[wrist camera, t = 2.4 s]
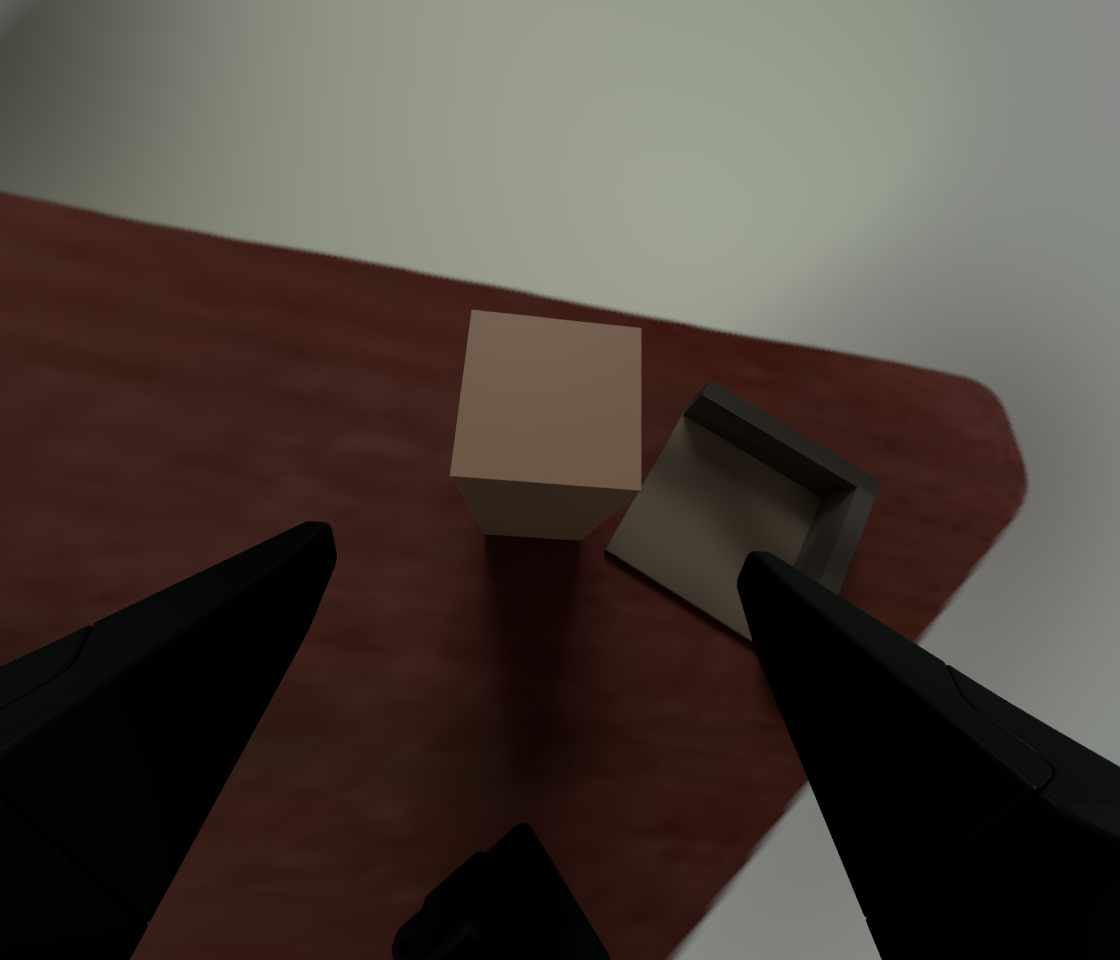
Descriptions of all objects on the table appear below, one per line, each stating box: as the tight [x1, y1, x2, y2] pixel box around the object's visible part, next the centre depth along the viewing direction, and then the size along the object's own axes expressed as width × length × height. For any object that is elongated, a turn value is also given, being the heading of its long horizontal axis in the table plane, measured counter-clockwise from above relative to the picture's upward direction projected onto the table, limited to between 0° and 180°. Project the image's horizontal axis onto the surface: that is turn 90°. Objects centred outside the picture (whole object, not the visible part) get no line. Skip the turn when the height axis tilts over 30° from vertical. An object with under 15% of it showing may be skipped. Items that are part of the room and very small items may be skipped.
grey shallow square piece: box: [605, 381, 882, 643], centre depth 21 cm, size 10×10×3 cm
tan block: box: [450, 310, 641, 541], centre depth 17 cm, size 5×5×11 cm
